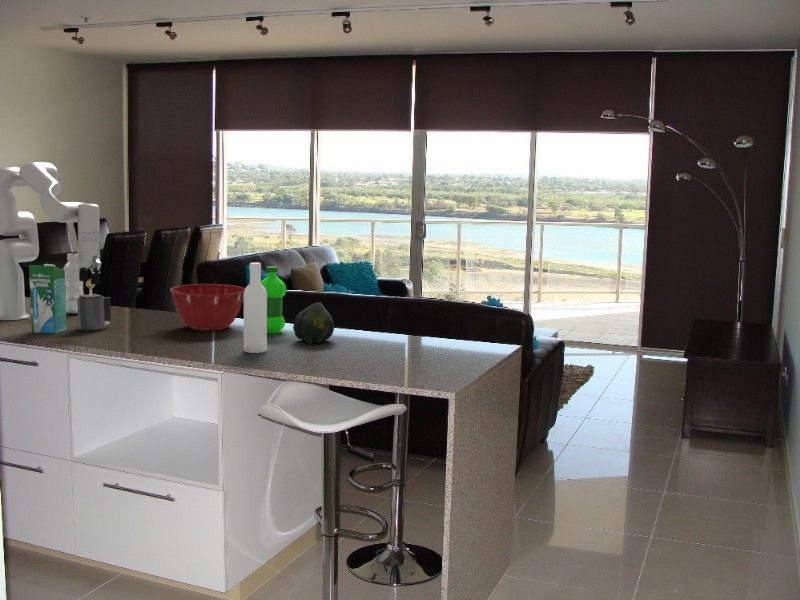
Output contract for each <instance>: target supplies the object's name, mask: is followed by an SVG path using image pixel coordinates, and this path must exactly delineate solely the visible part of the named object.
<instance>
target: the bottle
mask: <svg viewBox="0 0 800 600" xmlns="http://www.w3.org/2000/svg"><path fill="white" fill-rule="evenodd" d="M261 265H262V263H261V262H250V263H249V267H248V269H249V284H248V285H247V286H246V287H245V291H244V298H243V351H244V352H245V353H249V354H260V353H261V354H262V353H266V352H267V350H268V340H267V339H268V335H267V334H268V333H267V293H266V290H265V287H264V286H263V285H262V284H261V281H262V280H261V278H262V277H261V275H262V272H261V271H262V270H261V269H262V266H261Z"/></svg>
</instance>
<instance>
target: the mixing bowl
mask: <svg viewBox="0 0 800 600" xmlns="http://www.w3.org/2000/svg"><path fill="white" fill-rule="evenodd" d="M245 289H246V287H242V286H239V285H232V284H231V285H230V284H219V283H215V284H214V283H197V284H194V283H193V284H183V285H177V286H174V287H172V288H170V289H169V291H170V292H171V296H172V298H173V299H172V300H173V303H174V306H175V309H176V311H177V313H178V315H179V317H180V319H181V321H182V322H183V323H184V325H185V326H187V327H188V328H190V329H192V330H194V331H200V332H214V331H215V332H216V331H223V330H225V329H226V328H228V327H229V326H231V325H232V324H233V323H234V321H235V319H237V318H236V317H237V316H238V313H239V312H240V309H241V308H242V304H243V302H244V291H245Z"/></svg>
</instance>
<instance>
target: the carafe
mask: <svg viewBox="0 0 800 600" xmlns="http://www.w3.org/2000/svg"><path fill="white" fill-rule="evenodd" d="M111 305H112V304H111V297H110V296H107V297H105V296H103V295H101V294H96V293H92V296H89V294H84V295H79V297H78V298H77V309H78V314H77V328H78V331H80V332H98V331H103V330H105V328H106V325H105V321H109V322H111V321H112V315H111V311H112V310H111V307H112V306H111Z"/></svg>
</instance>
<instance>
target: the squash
mask: <svg viewBox="0 0 800 600" xmlns="http://www.w3.org/2000/svg"><path fill="white" fill-rule="evenodd" d="M292 326H293V327H292V330H293V331H294V335H295V337H296V338H297V339H298V340H302V341H305V343H307V344H309V345H311V344H312V343H315V344H319V343H321V342H324V341H328V339H330V338H331V337H332V336H333V334H334V331H335V324H334V320H333V317H332V315H331V314H330V312H329V311H328V310H327V309H326V307H325V306H324V304H323V303H322V302H320V301H319V302H314V303H312V304H310V305H308V306H307V307H305V308H304V309H302V310H301V311H300V312H298V314H297V315H296V317H295V319H294V321H293V325H292Z"/></svg>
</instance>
